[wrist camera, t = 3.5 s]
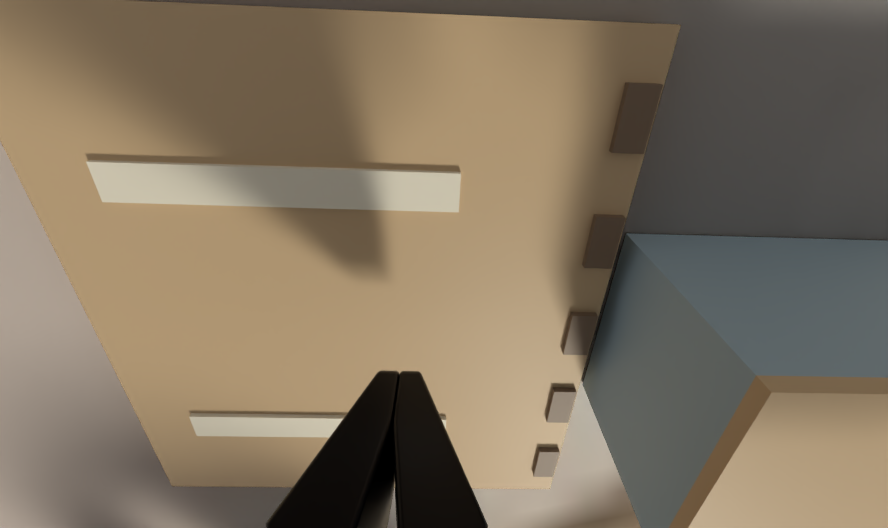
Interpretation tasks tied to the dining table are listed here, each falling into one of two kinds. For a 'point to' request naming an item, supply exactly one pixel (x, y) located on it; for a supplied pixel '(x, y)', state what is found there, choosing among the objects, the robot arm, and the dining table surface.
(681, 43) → the dining table surface
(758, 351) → the stub
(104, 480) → the dining table surface
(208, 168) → the pad
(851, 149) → the dining table surface
